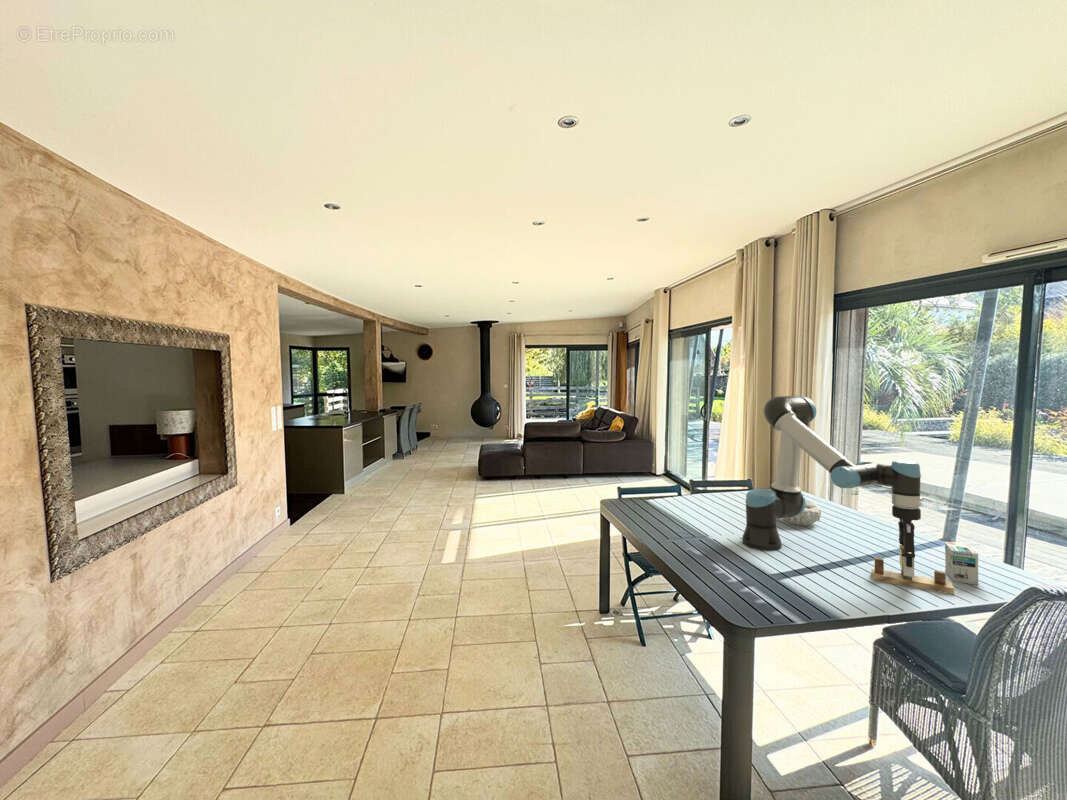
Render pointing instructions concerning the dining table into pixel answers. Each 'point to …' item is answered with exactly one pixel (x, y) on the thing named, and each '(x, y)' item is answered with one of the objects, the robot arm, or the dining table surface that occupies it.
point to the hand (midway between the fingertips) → (906, 569)
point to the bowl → (806, 515)
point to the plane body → (912, 579)
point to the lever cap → (901, 557)
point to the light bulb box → (961, 563)
